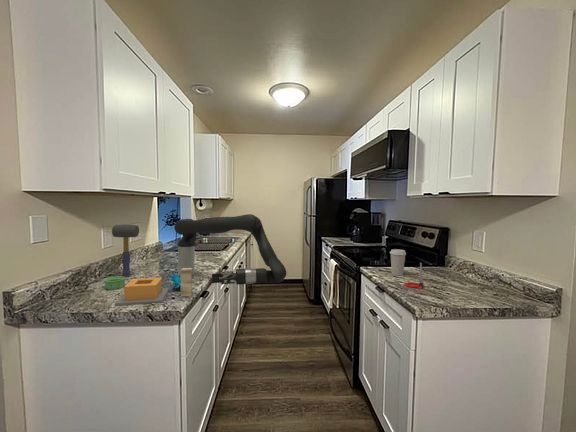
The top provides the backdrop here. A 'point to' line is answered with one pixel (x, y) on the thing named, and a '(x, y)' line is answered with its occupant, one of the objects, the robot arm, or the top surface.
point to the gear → (176, 280)
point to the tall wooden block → (186, 281)
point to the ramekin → (114, 282)
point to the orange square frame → (143, 292)
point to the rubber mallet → (125, 243)
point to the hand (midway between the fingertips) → (211, 278)
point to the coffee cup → (397, 261)
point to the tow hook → (416, 283)
